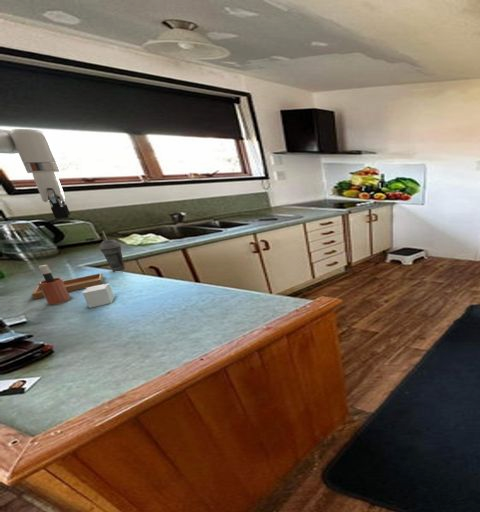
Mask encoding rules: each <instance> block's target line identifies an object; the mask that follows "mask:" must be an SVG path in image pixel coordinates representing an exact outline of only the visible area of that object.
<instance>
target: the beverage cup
mask: <svg viewBox="0 0 480 512" xmlns="http://www.w3.org/2000/svg"><path fill="white" fill-rule="evenodd" d="M101 232H102V234H103V237H104V240H103V241H101V242H100V245H99V250H100V252H101V253H102V255H103V256H104V258H105V260H106V262H107V264H108V266H109V267H110V269H111V270H112V272H113V273H116V272H121V271H125V269H126V267H125V261H124V258H123V254H122V246H121V244H120V243H119V241H117V240H115V239H108V237H107V236H106V233H105V231H104V230H101Z"/></svg>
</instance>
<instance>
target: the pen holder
mask: <svg viewBox="0 0 480 512" xmlns="http://www.w3.org/2000/svg"><path fill="white" fill-rule="evenodd" d="M53 278H54V280H55V281H54V282H50V283H46V280H45V279H44V280H41V281H40V282H38V283H37V285H38V286H40V288H41V290H42V292H43V294H44V296H45V297H44V299H45V300H46V302H47V304H48V305H59V304H62V303H66V302H67V301H70V300H72V299H71V295H70V293H69V292H68V291H67V288H66V286H65V284H64V282H63V281H64V280H63V278H62V277H53Z"/></svg>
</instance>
